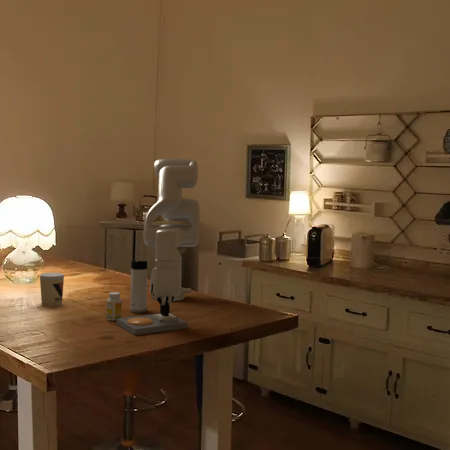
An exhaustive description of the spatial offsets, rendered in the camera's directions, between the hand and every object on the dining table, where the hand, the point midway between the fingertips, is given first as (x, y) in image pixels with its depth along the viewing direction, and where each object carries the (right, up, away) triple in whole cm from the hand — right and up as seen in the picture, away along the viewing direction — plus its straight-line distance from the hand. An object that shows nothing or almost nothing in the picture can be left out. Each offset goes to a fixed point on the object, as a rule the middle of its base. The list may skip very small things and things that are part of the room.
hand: (164, 315), depth 231 cm
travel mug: (-12, -1, +19) cm, 22 cm away
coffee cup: (-47, 0, +26) cm, 54 cm away
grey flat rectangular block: (-4, -4, -2) cm, 6 cm away
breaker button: (0, -3, 0) cm, 3 cm away
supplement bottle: (-19, -3, +6) cm, 20 cm away
